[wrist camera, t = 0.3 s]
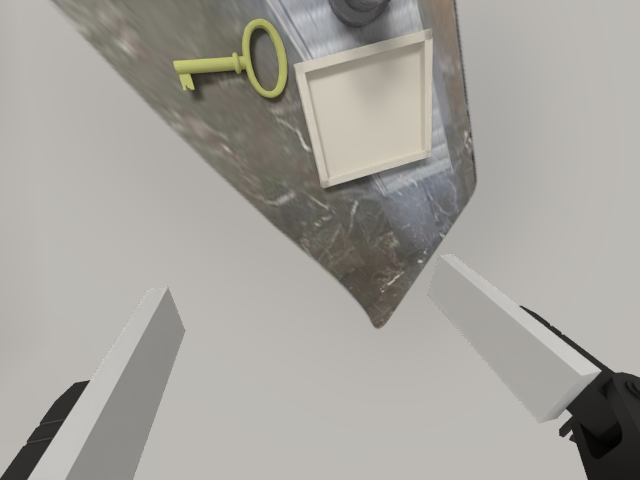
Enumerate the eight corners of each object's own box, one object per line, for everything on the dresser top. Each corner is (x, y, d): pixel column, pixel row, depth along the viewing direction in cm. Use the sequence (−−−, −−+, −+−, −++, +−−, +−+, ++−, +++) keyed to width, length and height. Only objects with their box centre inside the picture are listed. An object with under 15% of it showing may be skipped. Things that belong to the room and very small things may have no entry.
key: (172, 66, 27) (165, 63, 25) (269, 13, 26) (270, 6, 24) (213, 130, 30) (209, 132, 28) (299, 84, 30) (301, 83, 28)
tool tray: (292, 66, 28) (294, 64, 27) (425, 31, 29) (432, 27, 28) (320, 185, 36) (323, 188, 35) (425, 154, 37) (431, 156, 36)
